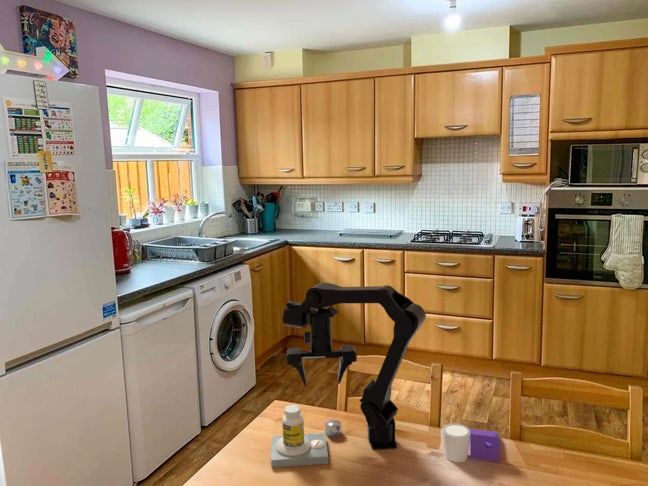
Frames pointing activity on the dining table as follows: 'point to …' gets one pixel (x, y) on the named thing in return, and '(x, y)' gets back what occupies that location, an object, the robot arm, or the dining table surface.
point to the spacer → (332, 428)
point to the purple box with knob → (484, 445)
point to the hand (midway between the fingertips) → (322, 384)
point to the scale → (300, 452)
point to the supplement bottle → (293, 427)
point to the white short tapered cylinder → (456, 442)
